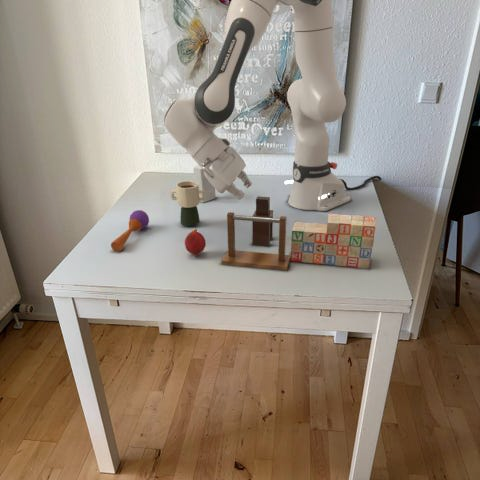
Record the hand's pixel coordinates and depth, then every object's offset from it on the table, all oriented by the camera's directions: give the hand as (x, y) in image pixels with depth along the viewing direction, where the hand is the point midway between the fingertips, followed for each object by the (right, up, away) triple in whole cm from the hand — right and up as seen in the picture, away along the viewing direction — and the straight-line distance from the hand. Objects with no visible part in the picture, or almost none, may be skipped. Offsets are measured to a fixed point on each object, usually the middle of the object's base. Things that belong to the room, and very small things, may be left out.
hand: (246, 191), depth 138 cm
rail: (+3, -20, -3) cm, 21 cm away
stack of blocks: (+23, -20, -3) cm, 31 cm away
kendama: (-35, -11, +11) cm, 39 cm away
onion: (-14, -18, +1) cm, 23 cm away
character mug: (-18, -6, +20) cm, 27 cm away
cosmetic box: (-14, +7, +38) cm, 41 cm away
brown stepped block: (+5, -13, +7) cm, 16 cm away
